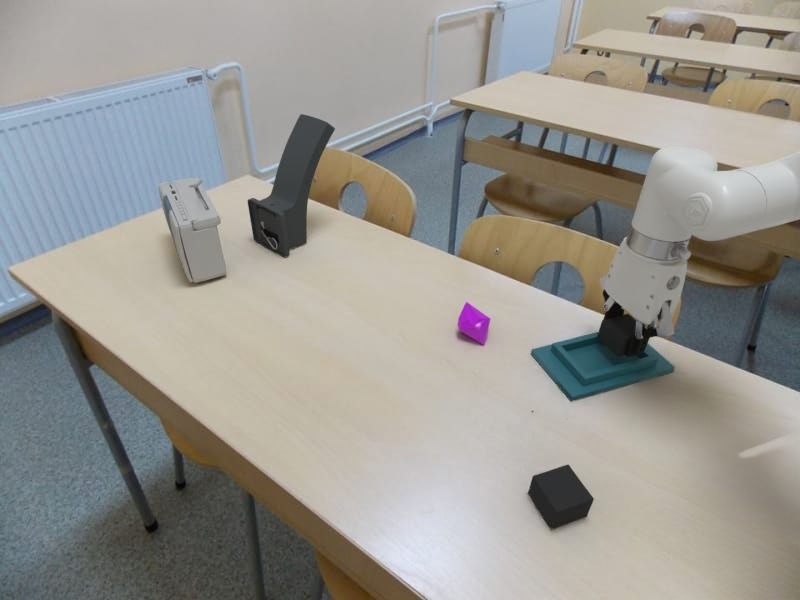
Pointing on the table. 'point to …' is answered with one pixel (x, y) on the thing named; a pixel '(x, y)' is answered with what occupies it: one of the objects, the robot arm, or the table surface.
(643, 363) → the dock
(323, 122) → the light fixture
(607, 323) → the black block
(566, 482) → the black square block
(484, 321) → the crystal
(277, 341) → the table surface
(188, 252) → the radio
